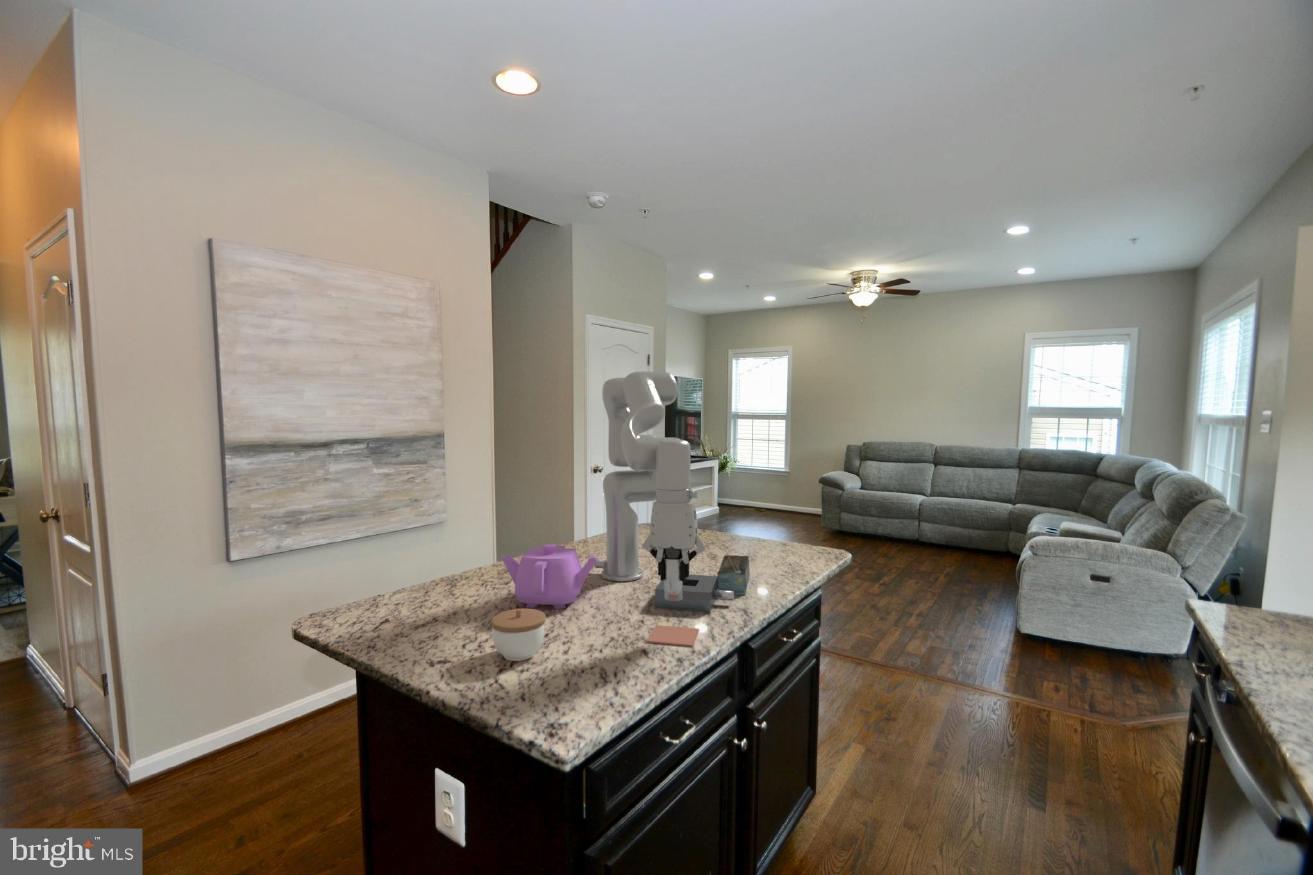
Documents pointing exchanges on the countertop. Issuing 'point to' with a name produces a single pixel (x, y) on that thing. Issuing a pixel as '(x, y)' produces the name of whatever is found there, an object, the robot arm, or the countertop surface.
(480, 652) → the countertop surface
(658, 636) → the mat
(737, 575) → the beverage carton
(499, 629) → the lidded jar
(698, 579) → the grey slotted box
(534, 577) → the teapot
